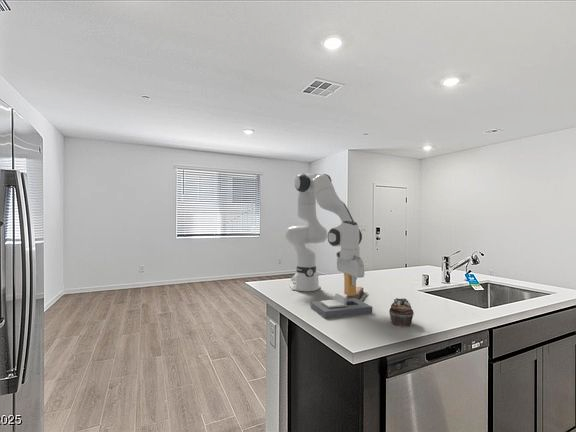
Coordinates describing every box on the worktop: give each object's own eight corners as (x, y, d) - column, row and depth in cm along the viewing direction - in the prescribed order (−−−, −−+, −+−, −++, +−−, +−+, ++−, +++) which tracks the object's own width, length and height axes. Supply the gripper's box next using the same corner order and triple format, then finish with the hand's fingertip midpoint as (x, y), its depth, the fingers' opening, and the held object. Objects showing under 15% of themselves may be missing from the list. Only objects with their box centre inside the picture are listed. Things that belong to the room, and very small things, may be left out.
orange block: (344, 293, 145) (344, 273, 145) (351, 293, 146) (351, 272, 146) (348, 295, 141) (348, 274, 141) (355, 295, 142) (355, 274, 142)
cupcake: (385, 319, 130) (385, 296, 130) (407, 319, 130) (407, 296, 130) (394, 327, 120) (394, 302, 120) (418, 327, 121) (418, 302, 121)
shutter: (320, 302, 144) (320, 295, 144) (337, 300, 147) (337, 293, 147) (328, 307, 136) (328, 299, 136) (346, 306, 138) (346, 298, 138)
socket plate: (310, 308, 146) (310, 301, 146) (354, 303, 154) (354, 297, 154) (324, 318, 131) (324, 311, 131) (372, 313, 138) (372, 306, 138)
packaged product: (362, 293, 156) (343, 292, 160) (362, 303, 156) (343, 301, 160) (367, 286, 173) (350, 285, 177) (367, 294, 173) (350, 293, 177)
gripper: (367, 257, 135) (368, 287, 135) (345, 252, 154) (345, 279, 154) (355, 257, 133) (355, 288, 133) (334, 252, 153) (334, 280, 152)
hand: (350, 283), depth 144 cm, fingers closed on orange block, 4 cm apart
